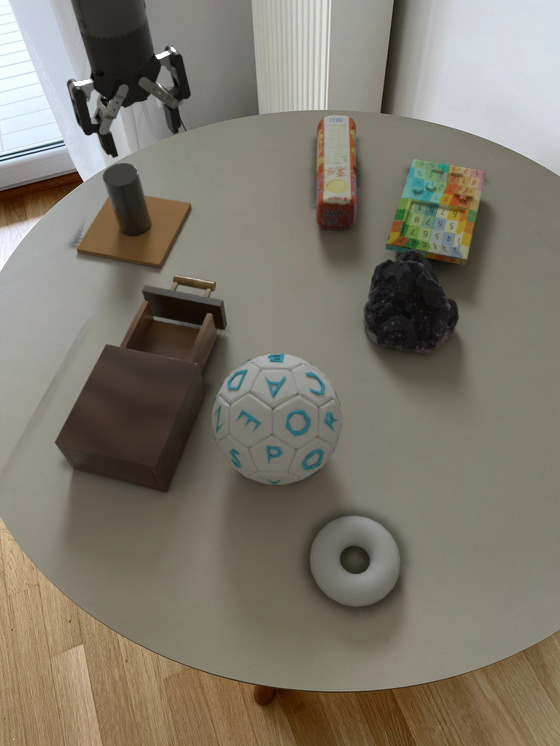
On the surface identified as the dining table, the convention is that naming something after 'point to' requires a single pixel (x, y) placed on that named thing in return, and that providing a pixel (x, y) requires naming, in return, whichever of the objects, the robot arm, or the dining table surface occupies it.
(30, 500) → the dining table surface
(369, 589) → the donut
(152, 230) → the cork mat
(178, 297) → the drawer
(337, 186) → the snack package
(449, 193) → the puzzle game
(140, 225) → the dark grey cylinder
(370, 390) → the dining table surface
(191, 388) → the cabinet
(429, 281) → the crystal cluster
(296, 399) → the puzzle ball
